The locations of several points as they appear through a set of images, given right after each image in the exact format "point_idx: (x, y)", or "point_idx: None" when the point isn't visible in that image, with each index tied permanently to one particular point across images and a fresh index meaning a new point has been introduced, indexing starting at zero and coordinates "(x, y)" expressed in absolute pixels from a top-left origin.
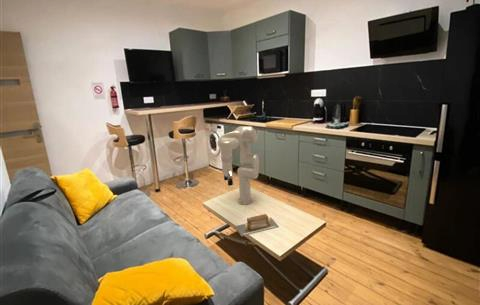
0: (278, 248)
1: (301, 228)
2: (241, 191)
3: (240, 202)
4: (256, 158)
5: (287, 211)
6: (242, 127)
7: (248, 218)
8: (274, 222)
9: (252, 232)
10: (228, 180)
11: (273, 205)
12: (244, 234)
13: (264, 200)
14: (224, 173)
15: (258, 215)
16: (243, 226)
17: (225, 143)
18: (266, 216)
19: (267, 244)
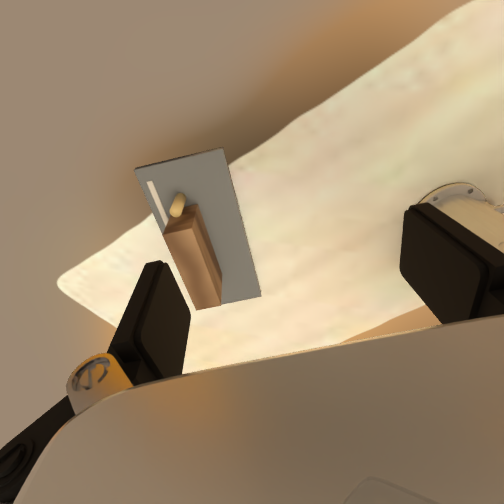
0: (84, 284)
1: (193, 354)
2: (482, 232)
3: (438, 195)
4: None
5: (297, 341)
6: None
7: (186, 234)
8: (226, 301)
9: (163, 220)
10: (118, 346)
11: (353, 312)
12: (148, 185)
13: (407, 290)
14: (205, 486)
15: (210, 278)
16: (213, 187)
17: None
18: (197, 305)
19: (102, 257)
